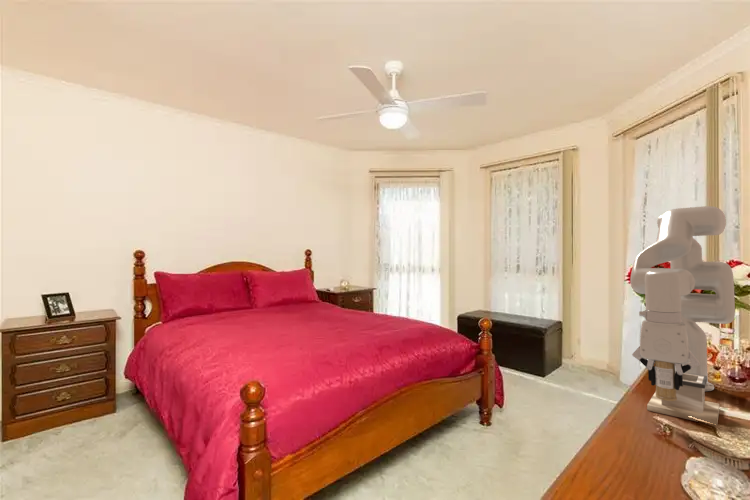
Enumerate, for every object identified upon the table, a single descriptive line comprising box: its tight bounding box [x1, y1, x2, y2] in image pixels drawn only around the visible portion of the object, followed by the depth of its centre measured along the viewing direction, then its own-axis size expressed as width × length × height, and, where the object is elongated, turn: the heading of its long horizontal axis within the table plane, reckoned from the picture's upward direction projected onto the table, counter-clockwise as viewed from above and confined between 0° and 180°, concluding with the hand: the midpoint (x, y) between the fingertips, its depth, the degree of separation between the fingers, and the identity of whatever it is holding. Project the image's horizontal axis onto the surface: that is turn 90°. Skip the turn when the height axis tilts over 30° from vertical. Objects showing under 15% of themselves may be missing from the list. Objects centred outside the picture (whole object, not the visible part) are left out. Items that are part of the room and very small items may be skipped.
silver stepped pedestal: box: [646, 371, 720, 426], centre depth 110 cm, size 15×15×10 cm
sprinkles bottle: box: [654, 361, 677, 401], centre depth 100 cm, size 5×5×13 cm
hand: (665, 385), depth 100 cm, fingers closed on sprinkles bottle, 4 cm apart
